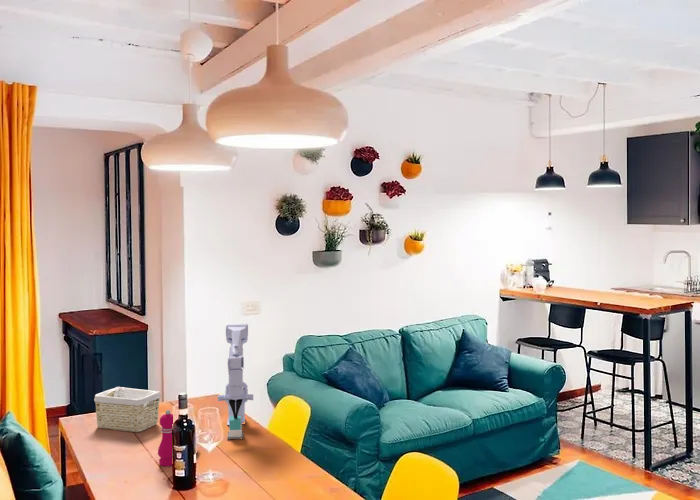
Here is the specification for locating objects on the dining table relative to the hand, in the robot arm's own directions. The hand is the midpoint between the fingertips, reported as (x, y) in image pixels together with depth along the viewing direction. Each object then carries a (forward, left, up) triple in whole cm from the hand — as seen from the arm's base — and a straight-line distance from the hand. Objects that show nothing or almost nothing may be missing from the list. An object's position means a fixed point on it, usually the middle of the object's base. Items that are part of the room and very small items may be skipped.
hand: (235, 417), depth 273 cm
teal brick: (0, 0, -4) cm, 4 cm away
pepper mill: (+27, -24, -8) cm, 37 cm away
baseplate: (0, 0, -8) cm, 8 cm away
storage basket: (-21, -47, -9) cm, 52 cm away
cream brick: (0, 0, -8) cm, 8 cm away
